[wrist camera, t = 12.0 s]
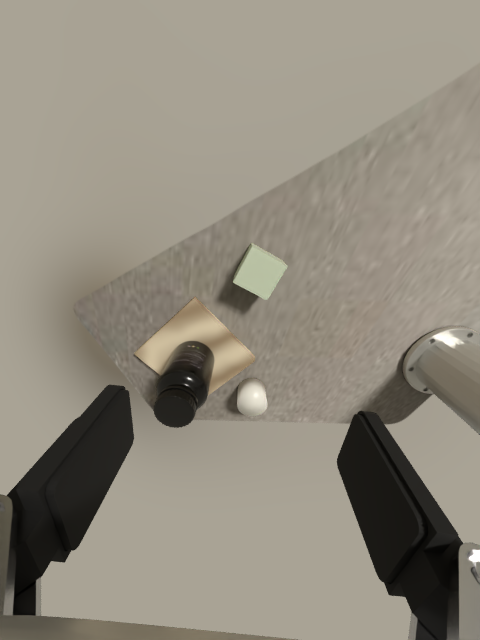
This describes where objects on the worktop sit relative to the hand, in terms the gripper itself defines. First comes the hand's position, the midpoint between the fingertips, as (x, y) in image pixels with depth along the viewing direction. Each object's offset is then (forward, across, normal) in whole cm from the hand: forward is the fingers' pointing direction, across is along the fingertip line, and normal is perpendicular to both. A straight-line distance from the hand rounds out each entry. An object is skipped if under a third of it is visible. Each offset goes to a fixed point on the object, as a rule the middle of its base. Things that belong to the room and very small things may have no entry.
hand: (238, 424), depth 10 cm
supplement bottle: (+25, +7, +13) cm, 29 cm away
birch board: (+26, +7, +13) cm, 30 cm away
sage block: (+26, -2, -2) cm, 27 cm away
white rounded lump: (+27, -3, +20) cm, 33 cm away
